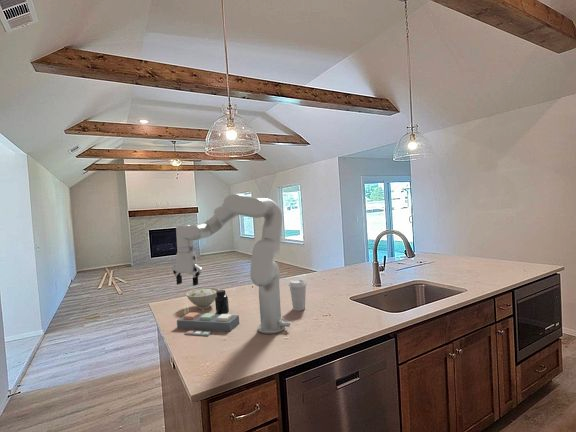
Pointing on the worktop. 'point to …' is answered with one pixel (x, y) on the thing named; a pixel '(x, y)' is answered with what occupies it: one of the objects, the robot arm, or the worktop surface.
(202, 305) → the bowl
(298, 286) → the coffee cup
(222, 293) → the supplement bottle
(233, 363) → the worktop surface
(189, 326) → the keypad
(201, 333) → the card
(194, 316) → the terracotta key
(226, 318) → the cream key
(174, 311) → the worktop surface
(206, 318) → the sage key
